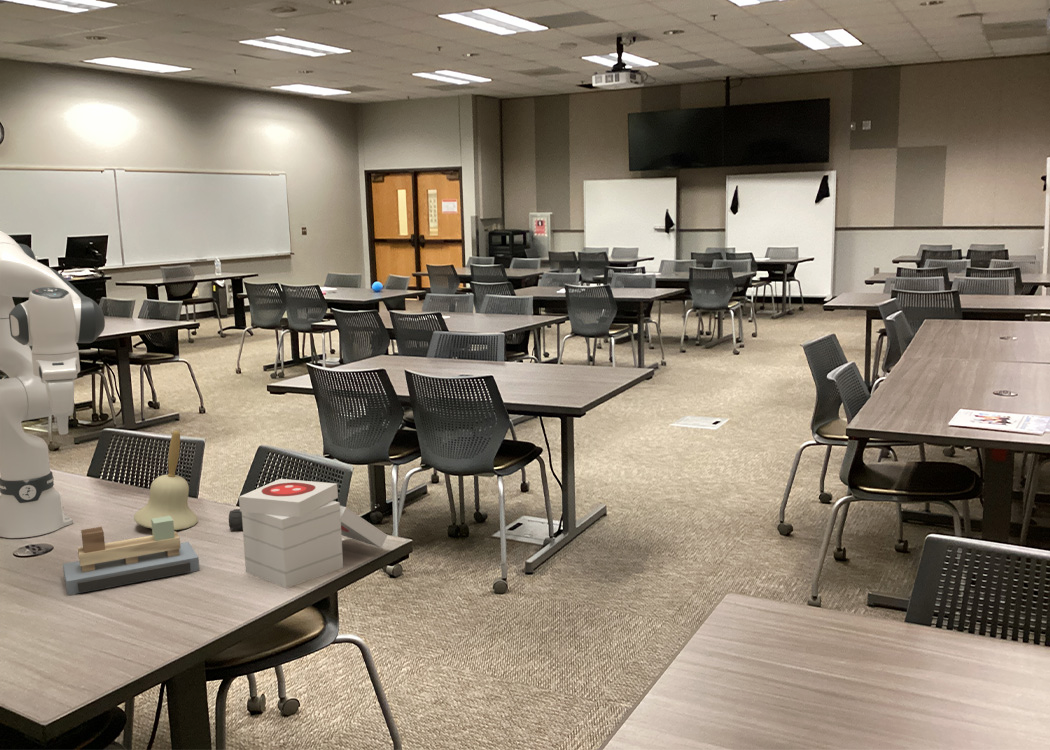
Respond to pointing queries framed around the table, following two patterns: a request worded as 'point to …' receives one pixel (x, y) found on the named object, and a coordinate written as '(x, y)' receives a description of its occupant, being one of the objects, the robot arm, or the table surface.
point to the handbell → (169, 495)
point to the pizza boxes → (298, 531)
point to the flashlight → (235, 520)
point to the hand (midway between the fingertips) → (61, 429)
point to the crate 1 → (93, 539)
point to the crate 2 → (162, 528)
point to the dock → (129, 570)
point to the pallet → (128, 551)
